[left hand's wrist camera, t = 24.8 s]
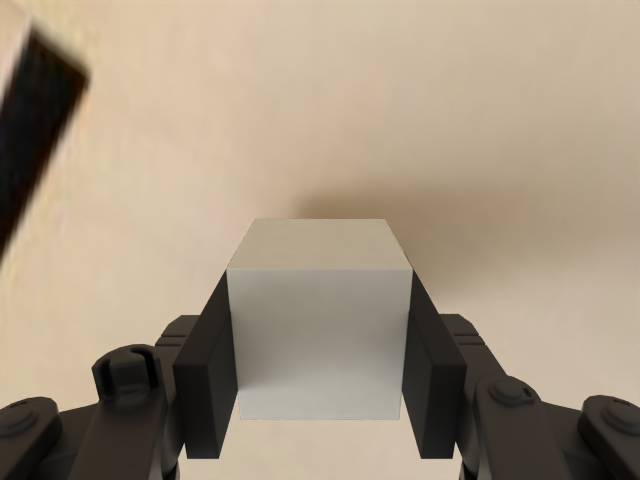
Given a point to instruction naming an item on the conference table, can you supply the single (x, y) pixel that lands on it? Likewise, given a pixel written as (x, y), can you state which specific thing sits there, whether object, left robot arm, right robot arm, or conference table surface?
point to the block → (319, 319)
